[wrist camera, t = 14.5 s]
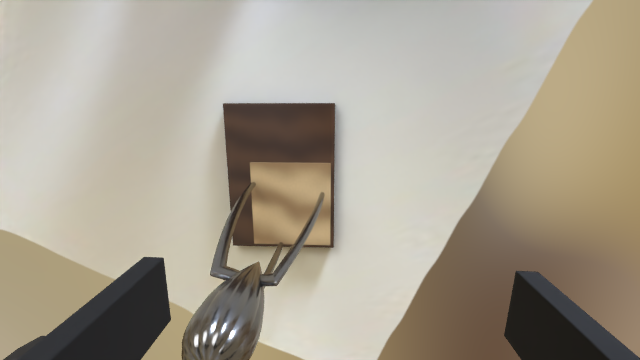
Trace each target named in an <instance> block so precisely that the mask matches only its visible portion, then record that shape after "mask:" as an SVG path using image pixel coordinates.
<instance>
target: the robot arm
mask: <svg viewBox="0 0 640 360" xmlns="http://www.w3.org/2000/svg"><path fill="white" fill-rule="evenodd" d="M170 320H171V316H170V308H169V300H168V291H167V283H166V275H165V266H164V258H156V257H143V258H142V259H141V260H140V261H139V262H137V263H136V264H135V265H134V266H132V267H131V268H130V269H129V270H127V271H126V272H125V273H124V274H122V275H121V276H120V277H119V278H117V279H116V280H115V281H114V282H113V283H111V284H110V285H109V286H107V287H106V288H105V289H104V290H103V291H101V292H100V293H99V294H98V295H96V296H95V297H94V298H93V299H91V300H90V301H89V302H88V303H87V304H85V305H84V306H83V307H81V308H80V309H79V310H78V311H76V312H75V313H74V314H73V315H72V316H70V317H69V318H68V319H67V320H65V321H64V322H63V323H62V324H60V325H59V326H58V327H57V328H55V329H54V330H53V331H52V332H50V333H49V334H48V335H47V336H40V337H39V338H37V339H35V340H33V341H31V342H29V343H27V344H26V345H24V346H22V347H20V348H18V349H17V350H15V351H14V352H13V353H11V354H10V355H9V356H8V357H6V358H5V359H4V360H141V358H142V357H143V356H144V354H145V353H146V352H147V350H148V349H149V348H150V347H151V345H152V344H153V343H154V341H155V340H156V339H157V337H158V336H159V335H160V333H161V332H162V331H163V329H164V328H165V327H166V326H167V324H168V323H169V322H170ZM504 336H505V337H506V339H507V340H508V342H509V343H510V344H511V346H512V347H513V349H514V350H515V351H516V353H517V354H518V356H519V357H520V358H521V360H640V358H639V357H638V356H636V355H635V354H634V353H633V352H632V351H630V350H629V349H628V348H627V347H626V346H625V345H623V344H622V343H621V342H620V341H619V340H617V339H616V338H615V337H614V336H613V335H611V333H609V332H608V331H607V330H606V329H605V328H603V327H602V326H601V325H600V324H599V323H598V322H596V321H595V320H594V319H593V318H592V317H590V316H589V315H588V314H587V313H586V312H585V311H583V310H582V309H581V308H580V307H579V306H577V305H576V304H575V303H574V302H573V301H571V300H570V299H569V298H568V297H567V296H566V295H564V294H563V293H562V292H561V291H560V290H559V289H557V288H556V287H555V286H554V285H553V284H552V283H550V282H549V281H548V280H547V279H546V278H544V277H543V276H542V275H541V274H540V273H538V272H528V271H516V273H515V279H514V285H513V290H512V296H511V301H510V306H509V312H508V317H507V323H506V328H505V334H504Z"/></svg>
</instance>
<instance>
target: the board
mask: <svg viewBox="0 0 640 360" xmlns="http://www.w3.org/2000/svg"><path fill="white" fill-rule="evenodd" d="M223 110H224V124H225V138H226V152H227V166H228V180H229V194H230V208H231V211H232V209H233V207H234V205H235V203H236V202H237V200H238V199H239V197H240V196H241V194H242V193H243V192H244V190H245V189H246V188H247V187H248V186H249V185H250V184H251V183H252V182H255V183H256V186H255V187H254V188H253V190H252V191H251V193H250V195H249V196H248V198H247V200H246V202H245V204H244V206H243V208H242V210H241V212H240V215H239V217H238V220H237V222H236V225H235V228H234V232H233V235H232V236H233V245H237V246H278V245H279V243H280V242H283V246H284V247H292V246H293V244H294V243H295V241H296V239H297V238H298V236H299V235H300V233H301V231H302V229H303V228H304V226H305V224H306V222H307V221H308V219H309V217H310V215H311V213H312V211H313V209H314V207H315V205H316V202H317V200H318V197H319V195H320V193H321V192H324V193H325V196H324V200H323V204H322V207H321V210H320V213H319V215H318V218H317V220H316V222H315V224H314V227H313V229H312V231H311V232H310V234H309V236H308V238H307V240H306V242H305V243H304V245H303V247H330V248H333V247H334V146H335V103H238V104H223Z"/></svg>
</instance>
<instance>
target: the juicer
mask: <svg viewBox="0 0 640 360" xmlns="http://www.w3.org/2000/svg"><path fill="white" fill-rule="evenodd" d="M255 186H256V183H255V182H252V183H251V184H250V185H249V186H248V187H247V188H246V189H245V190H244V192H243V193H242V194H241V196H240V197H239V199H238V200H237V202H236V203H235V205H234V207H233V209H232V211H231V213H230V215H229V217H228V219H227V221H226V223H225V226H224V228H223V231H222V233H221V236H220V239H219V242H218V245H217V248H216V252H215V255H214V259H213V263H212V267H211V271H210V275H211V276H213V277H216V278H220V279H223V280H226V281H224V282H223V283H222V284H220V285H219V286H218V287H217V288H216V289H215V290H214V291H213V292H212V293H211V294H210V295H209V296H208V297H207V298H206V299H205V301H204V302H203V303H202V305H201V306H200V307H199V308H198V309H197V311H196V312H195V314H194V315H193V317H192V318H191V320H190V322H189V324H188V326H187V328H186V330H185V333H184V336H183V340H182V360H249V359H250V357H251V356H252V354H253V352H254V350H255V347H256V345H257V342H258V339H259V336H260V332H261V328H262V322H263V312H264V288H265V286H277V285H278V284H279V282H280V281H281V279H282V278H283V276H284V275H285V273H286V272H287V270H288V269H289V267H290V266H291V264H292V263H293V261H294V260H295V258H296V256H297V255H298V253H299V252H300V250H301V248H302V247H303V245H304V243H305V242H306V240H307V238H308V236H309V234H310V232H311V231H312V229H313V227H314V224H315V222H316V220H317V218H318V215H319V213H320V210H321V207H322V204H323V200H324V196H325V193H324V192H321V193H320V195H319V197H318V200H317V202H316V205H315V207H314V209H313V211H312V213H311V215H310V217H309V219H308V221H307V222H306V224H305V226H304V228H303V229H302V231H301V233H300V235H299V236H298V238H297V239H296V241H295V243H294V244H293V246H292V247H291V249H290V250H289V252H288V253H287V255H286V256H285V257H284V259H283V260H282V262H281V263H280V264H279V266H278V267H277V268H276V270H275V271H274V272H273V270H274V268H275V265H276V263H277V261H278V258H279V255H280V253H281V250H282V247H283V242H280V243H279V245H278V247H277V249H276V251H275V253H274V255H273V257H272V259H271V261H270V263H269V265H268V267H267V269H266V271H265V272H264V274H262V272H261V267H260V263H259V262H257V263H255V264H252V265H250V266H248V267H246V268H245V269H243V270H241V271H239V270H236V269H233V268H230V267H228V266H227V258H228V253H229V248H230V243H231V239H232V235H233V232H234V228H235V225H236V222H237V220H238V217H239V215H240V212H241V210H242V208H243V206H244V204H245V202H246V200H247V198H248V196H249V195H250V193H251V191H252V190H253V188H254V187H255ZM272 272H273V273H272Z"/></svg>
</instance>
